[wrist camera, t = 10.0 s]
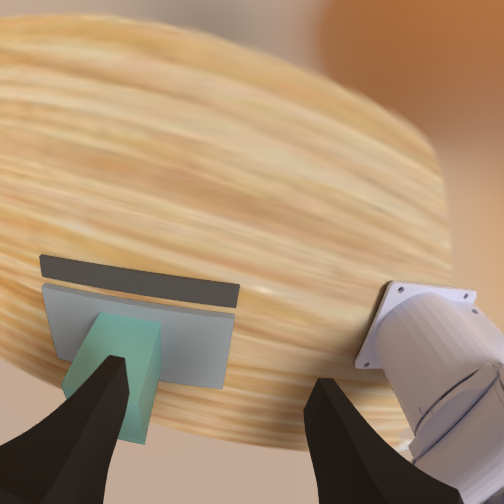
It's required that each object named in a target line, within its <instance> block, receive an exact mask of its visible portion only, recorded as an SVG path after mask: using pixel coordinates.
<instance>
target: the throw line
mask: <svg viewBox="0 0 504 504" xmlns="http://www.w3.org/2000/svg"><path fill="white" fill-rule="evenodd" d="M39 257H40V265H41V272H42V277H47V278H52V279H57V280H61V281H66V282H72V283H77V284H82V285H87V286H93V287H98V288H104V289H109V290H115V291H121V292H127V293H133V294H139V295H145V296H152V297H158V298H165V299H172V300H179V301H186V302H193V303H200V304H208V305H216V306H224V307H232V308H236V305H237V299H238V293H239V288H240V284H233V283H225V282H217V281H210V280H202V279H195V278H187V277H180V276H173V275H166V274H159V273H152V272H146V271H139V270H132V269H126V268H119V267H113V266H107V265H101V264H94V263H88V262H82V261H76V260H71V259H65V258H59V257H53V256H48V255H42V254H41V255H40V256H39Z"/></svg>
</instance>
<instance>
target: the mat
mask: <svg viewBox="0 0 504 504" xmlns="http://www.w3.org/2000/svg"><path fill="white" fill-rule="evenodd" d="M42 292H43V297H44V303H45V308H46V312H47V317H48V322H49V326H50V330H51V334H52V338H53V342H54V346H55V350H56V353H57V357H58V359H62V360H66V361H69V362H73V360H74V358H75V357H76V355H77V353H78V351H79V349H80V347H81V345H82V344H83V342H84V340H85V338H86V336H87V335H88V333H89V331H90V329H91V327H92V326H93V324H94V322H95V320H96V319H97V317H98V315H99V314H100V312H103V313H108V314H113V315H119V316H124V317H130V318H136V319H142V320H148V321H154V322H160V323H161V372H160V376H159V380H158V381H163V382H169V383H176V384H183V385H190V386H198V387H206V388H215V389H223V383H224V377H225V371H226V365H227V360H228V354H229V348H230V342H231V336H232V331H233V325H234V314H229V313H221V312H213V311H205V310H198V309H190V308H183V307H176V306H169V305H163V304H156V303H150V302H144V301H137V300H131V299H126V298H120V297H114V296H108V295H103V294H98V293H92V292H87V291H82V290H77V289H72V288H67V287H62V286H57V285H52V284H48V283H45V284H44V285H43V286H42Z"/></svg>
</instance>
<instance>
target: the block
mask: <svg viewBox="0 0 504 504" xmlns="http://www.w3.org/2000/svg"><path fill="white" fill-rule="evenodd" d="M109 355H114V356H119V357H124V358H125V361H126V369H127V377H128V384H129V391H130V394H129V399H128V404H127V409H126V413H125V417H124V420H123V423H122V427H121V430H120V433H119V436H118V439H120V440H124V441H128V442H133V443H138V444H143V445H144V444H145V440H146V435H147V430H148V425H149V421H150V416H151V411H152V407H153V402H154V398H155V393H156V389H157V385H158V380H159V376H160V372H161V323H160V322H154V321H148V320H142V319H136V318H130V317H124V316H119V315H113V314H108V313H103V312H100V314H99V315H98V317H97V319H96V320H95V322H94V324H93V326H92V327H91V329H90V331H89V333H88V335H87V336H86V338H85V340H84V342H83V344H82V345H81V347H80V349H79V351H78V353H77V355H76V357H75V358H74V360H73V362H72V364H71V366H70V368H69V370H68V372H67V374H66V376H65V378H64V380H63V382H62V384H61V385H62V388H63V391H64V394H65V397H66V399H68V398H69V397H70V396H71V395H72V394H73V393H74V392H75V391H76V390H77V389H78V388H79V387H80V386H81V385H82V384H83V383H84V382H85V381H86V380H87V379H88V378H89V377H90V375H91V374H92V373H93V372H94V371H95V370H96V369H97V368H98V367H99V365H100V364H101V363H102V362H103V361H104V360H105V358H106V357H107V356H109Z"/></svg>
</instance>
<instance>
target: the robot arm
mask: <svg viewBox="0 0 504 504" xmlns="http://www.w3.org/2000/svg"><path fill="white" fill-rule="evenodd" d="M400 287H402V288H401V289H400V290H398V289H399V288H400ZM464 295H465V296H464ZM476 297H477V293H476V291H475V290H471V289H462V288H453V287H444V286H436V285H427V284H418V283H410V282H401V281H392V282H390V283H389V284H388V286H387V289H386V291H385V294H384V296H383V299H382V301H381V304H380V306H379V309H378V311H377V314H376V316H375V318H374V321H373V323H372V325H371V328H370V330H369V332H368V335H367V337H366V339H365V341H364V343H363V346H362V348H361V350H360V352H359V354H358V356H357V358H356V361H355V363H354V364H355V367H356V368H357V369H383V371H384V373H385V375H386V377H387V379H388V381H389V383H390V385H391V387H392V389H393V391H394V393H395V395H396V397H397V399H398V401H399V403H400V406H401V408H402V410H403V412H404V414H405V416H406V418H407V420H408V423H409V425H410V427H411V429H412V431H413V433H414V435H415V439H414V440H413V441H412V442H411V443H410V444H409V449H410V451H411V453H412V456H413V459H412V460H411V461H410V462H409V461H407V460H406V459H405V458H403V457H402V456H401V455H400V454H399V453H397V452H396V451H395V450H394V449H393V448H392V447H391V446H390V445H388V444H387V443H386V442H385V441H384V440H383V439H382V438H381V437H380V436H379V435H378V434H377V433H376V431H375V430H374V429H373V428H372V427H371V426H370V425H369V424H368V423H367V422H366V420H365V419H364V418H363V417H362V416H361V414H360V413H359V412H358V411H357V409H356V408H355V407H354V406H353V404H352V403H351V402H350V400H349V399H348V398H347V397H346V395H345V394H344V393H343V391H342V390H341V389H340V387H339V386H338V385H337V383H336V382H335V381H334V379H333V378H318V380H317V382H316V384H315V386H314V389H313V391H312V393H311V395H310V397H309V400H308V402H307V404H306V406H305V408H304V410H303V411H304V423H305V433H306V437H307V442H308V446H309V451H310V454H311V459H312V463H313V467H314V472H315V476H316V481H317V487H318V497H319V504H504V334H503V333H502V332H501V331H500V330H499V329H498V328H497V327H496V326H495V325H494V324H493V323H492V322H491V321H490V319H489V318H488V317H487V316H485V314H484V313H483V312H482V311H481V310H480V309H479V308H478V307H477V306H476V305H475V304H474V301H475V299H476ZM365 363H366V364H365ZM129 394H130V391H129V384H128V377H127V369H126V361H125V358H124V357H119V356H114V355H109V356H107V357H106V358H105V360H104V361H103V362H102V363H101V364H100V365H99V367H98V368H97V369H96V370H95V371H94V372H93V373H92V374H91V375H90V377H89V378H88V379H87V380H86V381H85V382H84V383H83V384H82V385H81V386H80V387H79V388H78V389H77V390H76V391H75V392H74V393H73V394H72V395H71V396H70V397H69V398H68V399H67V400H66V401H65V402H64V403H62V404H61V405H60V406H59V407H58V408H57V409H56V410H55V411H53V412H52V413H51V414H50V415H49V416H47V417H46V418H45V419H43V420H42V421H41V422H40V423H38V424H36V425H35V426H33V427H32V428H31V429H29V430H28V431H26V432H25V433H23V434H21V435H19V436H18V437H16V438H14V439H12V440H10V441H8V442H7V443H5V444H3V445H1V446H0V504H103V499H104V492H105V485H106V479H107V473H108V468H109V464H110V461H111V457H112V454H113V451H114V448H115V445H116V441H117V439H118V436H119V433H120V430H121V427H122V423H123V420H124V417H125V413H126V409H127V404H128V399H129Z"/></svg>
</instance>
